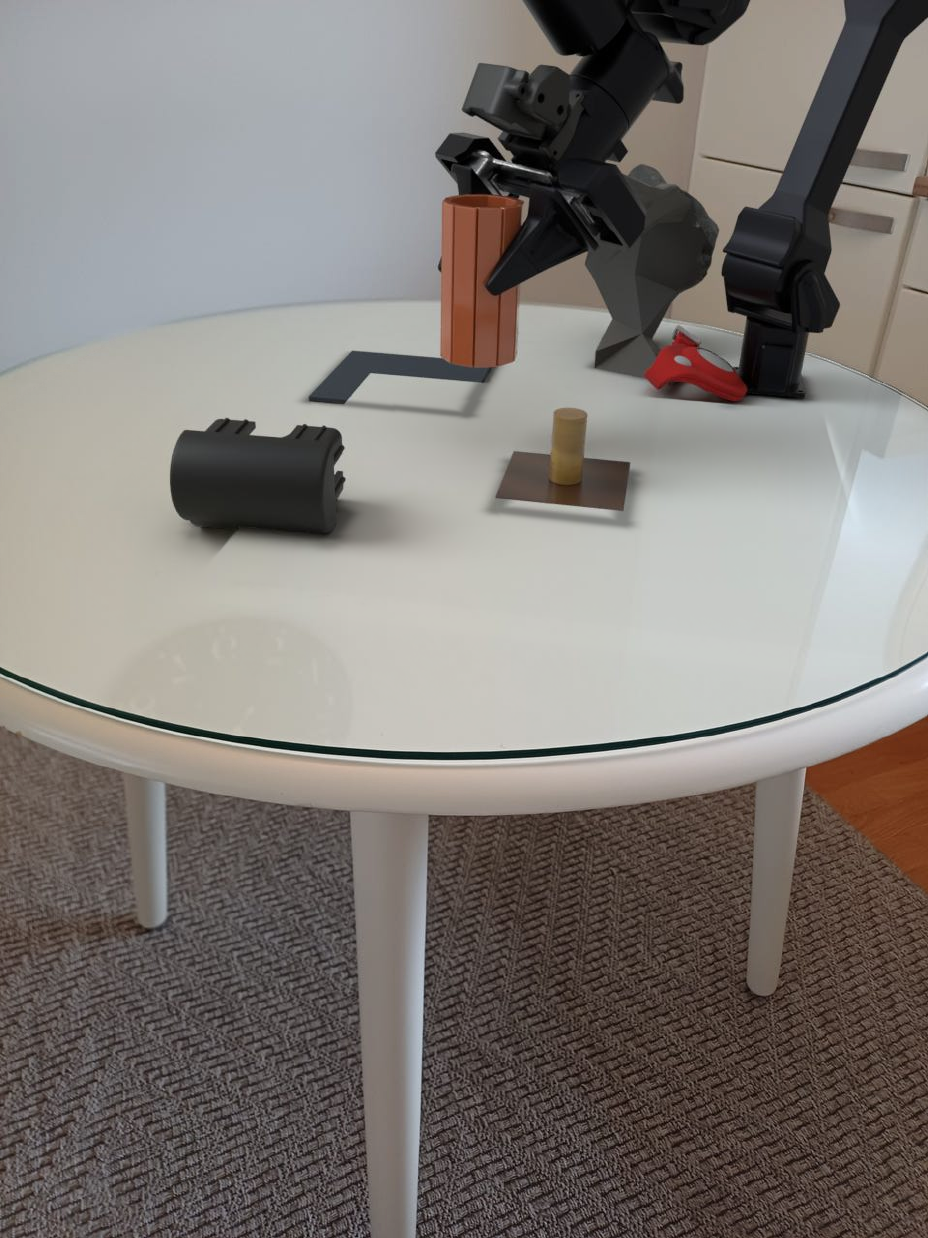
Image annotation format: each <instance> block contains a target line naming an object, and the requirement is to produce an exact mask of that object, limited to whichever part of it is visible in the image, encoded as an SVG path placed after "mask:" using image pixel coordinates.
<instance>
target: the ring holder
mask: <svg viewBox="0 0 928 1238" xmlns="http://www.w3.org/2000/svg"><path fill="white" fill-rule="evenodd" d="M587 425H588V413H587V411H585V410H583V409H580V408H576V407H561V408H557V409H555V410H554V411H553V415H552V430H551V443H550V454H549V453H540V452H539V453H538V452H527V451H519V450H518V451H517V450H514V451H513V452H512V454H511V457H510V458H509V462H508V464H507V467H506V469H505V472H504V473H503V476H502V479H501V481H500V484H499V487H498V489H497V491H496V494H495V496H494V498H495V499H500V500H510V501H511V500H512V501H520V502H528V503H529V502H531V503H539V504H549V505H550V504H551V505H559V506H560V505H561V506H568V507H569V506H570V507H580V508H589V509H601V510H608V511H609V510H610V511H619V512H620V511H621V512H623V511H624V508H625V502H626V495H627V488H628V482H629V474H630V468H631V461H624V460H623V461H621V460H614V459H613V460H611V459H601V458H590V457H585V451H586V450H585V449H586V436H587Z"/></svg>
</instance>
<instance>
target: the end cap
mask: <svg viewBox="0 0 928 1238" xmlns="http://www.w3.org/2000/svg"><path fill="white" fill-rule="evenodd" d="M256 423H257V422H256V421H251V420H249V419H247V418H245V419H243V420H239V419H230V418H229V417H224V418H217V419H215V420H214V421H213V422H212V423H211V424H210V425H209V426H208V427H207V428H206V429H205V430H193V429H183V431H181V433H180V434H179V436H178V437H177V439H176V442H175V445H174V447H173V450H172V456H171V460H170V467H169V488H170V489H169V490H170V495H171V501H172V504H173V508H174V510H175V512H176V514H178V516H179V517H180V518H181V519H182V520H184V521H189V523H190V524H192V525H193V526H196V527H200V528H209V529H222V530H232V531H238V530H239V529H240V528H248V529H249V528H250V529H261V530H272V531H282V532H293V533H303V534H312V535H313V534H314V535H324V534H331V532H332V531H334V530H335V528H336V526H337V511H336V503H337V500H338V498H339V497H340V495H341V494H342V492H343V491H344V487H345V486H344V485H345V482H346V481H347V479H346V477H345V476H344V471H343V470H336V472H335V466H336V465H337V463H338V461H339V460H340V458H341V457H342V455H343V452H344V451H345V449H346V447H345V445H344V444H343V436H342V432H341V431H339V430H338V429H337V428H335V427H328V426H326V425H322V426H314V425H308V424H306V423H303V424H296V426H294V428H293V429H292V431H291V432H289V434H287V435H285V436H279V437H278V436H268V435H267V436H266V435H255V434H252V433H253V432H254V431H255V430H256V428H257V424H256Z"/></svg>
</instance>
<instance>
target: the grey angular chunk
mask: <svg viewBox="0 0 928 1238" xmlns="http://www.w3.org/2000/svg"><path fill="white" fill-rule="evenodd" d="M622 174H623V176H624V177H625V179H626V180H627V182H628V183H629V185H630V186H631V188H632V189H633V191H634V192H635V194H636V195H637V197H638V198H639V200H640V202H641V203H642V205H643V206H644V208H645V209H646V220H645V230H644V232H643V233H642V234H641V236H640V237H639V238H638V240H637V241H636V242H635V244H634V245H633V246H632V248H631V249H630V250H629V252H627V251H623V250H620V249H616V248H613V247H610V246H606V245H604V244H603V243H602V242H601V240H600V232H599V234H598V235H597V236H596V238H595V240H596V242H597V243H598V245H599V248H598V249H597V250H596V251H595V252H589V251H588V252H586V253H587V254H586V257H585V261H584V266H585V268H586V270H587V272H588V273H589V274H590V276H591V278H592V279H593V281H594V282H595V285H596V287H597V289H598V291H599V293H600V296H601V297H602V300H603V302H604V304H605V306H606V308H607V311H608V313H609V314H610V317H611V321H610V322H609V325H608V326H607V328H606V330H605V332H604V334H603V336H602V338H601V339H600V342H599V343H598V345H597V347H596V349H595V351H594V352H595V353H594V369H598V370H601V371H607V372H612V373H615V374H622V375H627V376H631V377H636V378H641V379H645V380H647V379H646V378H645V377H644V374H645V372H646V371H647V370H648V369H649V368H650V367H651V366H652V365H653V364H654V362H655V360H656V358H657V356H658V355H659V353H660V351H661V350H662V349H661V348H660V347H659V346H658V344H657V343H656V342H655V341H654V339H653V338H654V337H655V335H656V333H657V331H658V329H659V327H660V325H661V323H662V322H663V319H664V318H665V315H666V314H667V312H668V310H669V308H670V306H671V304H672V302H673V301H674V300H675V299H676V298H677V297H678V296H679V295H680V294H682V293H683V292H685V291H688V290H690V289H692V288H694V287H696V286H697V285H698V284H700V283H702V281H704V279H705V277H706V276H707V275H708V270H709V269H710V267H711V265H712V261H713V254H714V251H715V248H716V244H717V239H718V237H719V233H720V228H719V226H718V224H717V223H716V222H715V220H714V219H712V217H711V216H709V214H708V212H707V210H706V209H705V207H704V206H703V204H702V203H701V202H700V201H699V200H698V199H697V198H696V197H694V196H693V195H692V194H690V193H689V192H688V191H687V190H686V191H685V190H684V189H682V188H680V186H679V185H677V184H675V183H668V182H667V181H666V179H665V178H664V176H663V175H662V174H661V173H660V171H658V170H657V169H656V168H655V167H653V166H651V165H647V164H644V163H641V164H638V165H637V166H635V167H633V168H632V169H631V170H630V171H629V173H628V174H625V173H622ZM674 383H675V382H674V381H669V382H668V383H667V384H670V385H674Z"/></svg>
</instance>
